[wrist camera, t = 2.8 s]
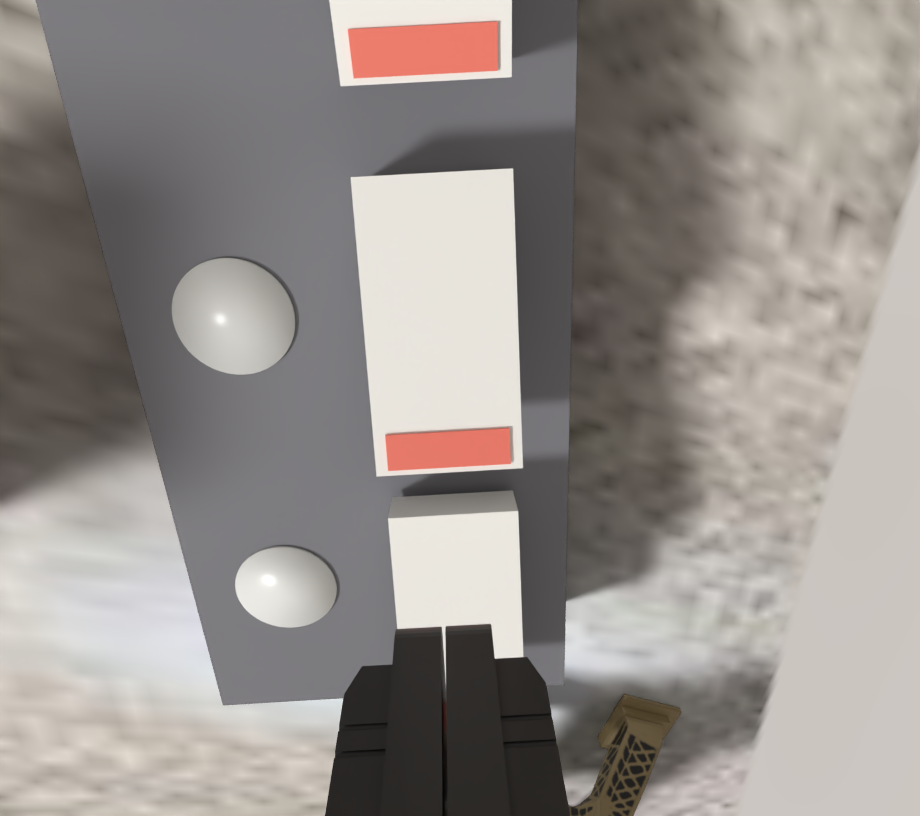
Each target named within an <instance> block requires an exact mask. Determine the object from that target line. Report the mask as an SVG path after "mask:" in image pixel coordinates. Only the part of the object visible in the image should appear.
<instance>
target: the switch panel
mask: <svg viewBox="0 0 920 816" xmlns="http://www.w3.org/2000/svg"><path fill="white" fill-rule="evenodd" d="M36 3H37V7H38V11H39V15H40V18H41V22H42V26H43V30H44V33H45V37H46V41H47V45H48V48H49V52H50V56H51V60H52V63H53V67H54V71H55V75H56V79H57V82H58V86H59V90H60V94H61V97H62V101H63V105H64V109H65V112H66V116H67V120H68V124H69V127H70V131H71V135H72V139H73V142H74V146H75V150H76V154H77V158H78V161H79V165H80V169H81V173H82V176H83V180H84V184H85V188H86V191H87V195H88V199H89V203H90V206H91V210H92V214H93V218H94V222H95V225H96V229H97V233H98V237H99V240H100V244H101V248H102V252H103V255H104V259H105V263H106V267H107V270H108V274H109V278H110V282H111V285H112V289H113V293H114V297H115V301H116V304H117V308H118V312H119V316H120V319H121V323H122V327H123V331H124V334H125V338H126V342H127V346H128V349H129V353H130V357H131V361H132V365H133V368H134V372H135V376H136V380H137V383H138V387H139V391H140V395H141V398H142V402H143V406H144V410H145V413H146V417H147V421H148V425H149V428H150V432H151V436H152V440H153V444H154V447H155V451H156V455H157V459H158V462H159V466H160V470H161V474H162V477H163V481H164V485H165V489H166V492H167V496H168V500H169V504H170V508H171V511H172V515H173V519H174V523H175V526H176V530H177V534H178V538H179V541H180V545H181V549H182V553H183V556H184V560H185V564H186V568H187V572H188V575H189V579H190V583H191V587H192V590H193V594H194V598H195V602H196V605H197V609H198V613H199V617H200V620H201V624H202V628H203V632H204V635H205V639H206V643H207V647H208V651H209V654H210V658H211V662H212V666H213V669H214V673H215V677H216V681H217V684H218V688H219V692H220V696H221V699H222V703H223V705H237V704H253V703H270V702H287V701H303V700H320V699H337V698H344V693H345V692H346V690H347V689H348V687H349V686H350V684H351V683H352V681H353V679H354V678H355V676H356V675H357V673H358V672H359V670H360V669H361V667H362V666H373V665H392V662H393V650H394V637H395V631H396V629H397V620H396V608H395V596H394V584H393V572H392V560H391V548H390V536H389V525H388V516H389V511H390V506H391V501H392V497H406V496H423V495H441V494H458V493H475V492H493V491H510V490H513V493H514V497H515V501H516V504H517V508H518V518H519V546H520V574H521V603H522V631H523V657H528V659H529V660H530V661H531V663H532V664H533V666H534V667H535V668H536V670H537V671H538V673H539V674H540V675H541V677H542V678H543V679H544V681H545V682H546V686H553V685H564V660H565V611H566V562H567V513H568V464H569V416H570V367H571V318H572V269H573V220H574V171H575V122H576V74H577V25H578V0H512V77H506V78H488V79H469V80H450V81H431V82H412V83H394V84H375V85H356V86H340V79H339V71H338V64H337V56H336V48H335V41H334V33H333V26H332V18H331V10H330V3H329V0H36ZM511 168H513V181H514V212H515V242H516V272H517V302H518V333H519V363H520V393H521V424H522V454H523V468H517V469H500V470H483V471H465V472H448V473H431V474H413V475H396V476H378V477H377V476H376V464H375V453H374V441H373V430H372V418H371V407H370V396H369V384H368V373H367V361H366V350H365V338H364V327H363V315H362V304H361V292H360V281H359V269H358V258H357V246H356V235H355V223H354V212H353V200H352V189H351V177H363V176H382V175H400V174H419V173H437V172H455V171H474V170H492V169H511Z"/></svg>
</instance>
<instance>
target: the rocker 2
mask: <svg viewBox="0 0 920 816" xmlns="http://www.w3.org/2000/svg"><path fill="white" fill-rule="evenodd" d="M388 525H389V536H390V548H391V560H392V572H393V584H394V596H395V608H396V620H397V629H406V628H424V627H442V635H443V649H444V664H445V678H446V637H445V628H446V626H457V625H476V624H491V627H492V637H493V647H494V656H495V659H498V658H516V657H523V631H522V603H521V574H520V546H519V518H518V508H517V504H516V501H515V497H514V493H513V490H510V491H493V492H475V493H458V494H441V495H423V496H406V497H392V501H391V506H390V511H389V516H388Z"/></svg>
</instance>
